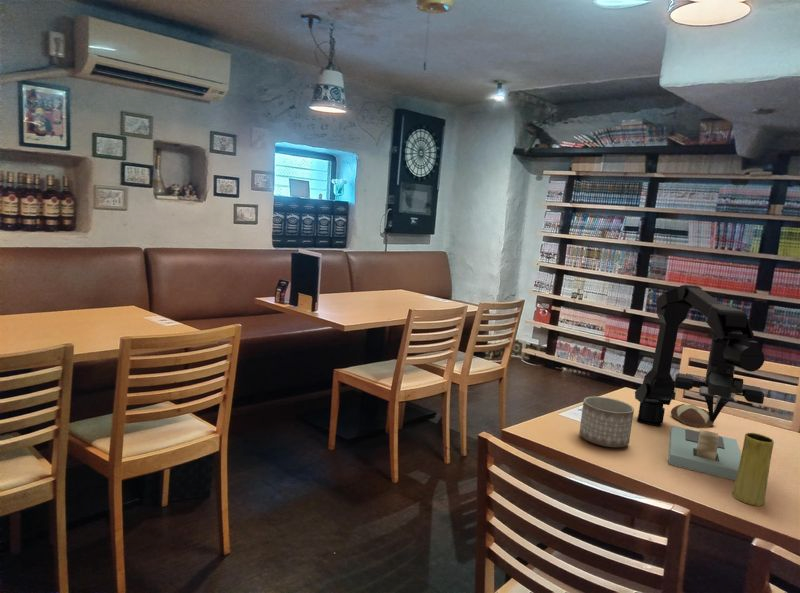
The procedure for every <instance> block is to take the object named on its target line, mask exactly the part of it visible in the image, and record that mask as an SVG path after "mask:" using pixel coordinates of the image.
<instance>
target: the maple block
mask: <svg viewBox="0 0 800 593" xmlns="http://www.w3.org/2000/svg"><path fill="white" fill-rule="evenodd" d="M699 431H700V433H699V439H698V445H697V451H696V456H698V457H702V458H706V459H710V460H714V461H715V459H716V454H717V448H718V442H719V436H720V435H719V433H717V432H714V431H709V430H703V429H699Z"/></svg>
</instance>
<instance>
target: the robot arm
mask: <svg viewBox="0 0 800 593" xmlns="http://www.w3.org/2000/svg"><path fill="white" fill-rule="evenodd" d="M655 303H656V311H655V312H656V315H657V318H658V320H659V322H660V325H659V330H658V334H657V341H656V345H655V351H654V356H653V360H652V361H653V362H652V366H651V369H650V370H649V371H648V373H646V374H645V376H643V377H644V378H643V382H642V384H640V386H639V387H638V388H637V389H636V390H635V391H634V399H635V400H636V401H638V402H639V408H638V414H637V418H636V421H637V422H638V423H644V424H647V425H652V426H656V427H661V425H662V424H663V423H664V417H665V410H666V409H665V407H664V405H667V406H670V404H671V402H672V400H673V397H674V395H675V389H679V390H684V391H685V390H686V391H690V390H692V389H693V388H697V389H698V391H699V392H698V393H699V396H701V397H703V398H704V399H705V403H706V404H707V405H706V406H707V411H708V412H709V417H710V421H712V422H714V423H715V421H716V419H717V418H718V416H719V414H720V413H721V411H722V410H723V408H724V407H725V406H726V405H727V404H728V403H730V402H732V403H734V402H735V397H736V396H740V397H743V398H744V399H745V400H746V401H747V402H748V403H749V402H750V403H755V404H758V405H763V404H764V400H765V393H764V391H763V390H762V389H761V387H759V386H753V385H748V384H744V379H743V378H740V377H735V376H734V375H735V370H736V369H735V368H738V369H742V370H744V371H747V372H750V373H751V372H756V371H758V370H760V369H761V368H762V367H763V365H764V363H765V359H766V358H765V356H764V352H763V351H762V349H760V348H759V342H758V341H755V334H754V332H753V329H752V327H751V324H750V320H749V317H748V315H747V313H746V311H744V310H741V309H738V308H736V307H733V306H728V305H725V304H723V303H722V302H720V301H719V300H717V299H716V298H714V297H713V296H711V295H710V294H708V293H707V292H706V291H705V290H704V289H702V287H701V286H699V285H694V284H682V285H679V286H678V287H677V288H674V289H670V290H668V291H665V292H663V293H662V294H660V295H658V297H657V298H656V302H655ZM693 308H694V309H695V310H697V311H698V312H699V313H700V314H702V315H703V316H704V317H706V324H707V326H708V327H709V328H710V329H711V330H712V332H710V333H708V334H707V338H709V339H711V343H710V347H709V355H708V360H707V367H706V368H707V369H706V373H705V379H704V380H699V379H695V378H694V375H692V374H686V373H681V372H679V373H677V374H675V379H673V377H672V375H671V369H672V366H673V360H674V353H675V349H676V344H677V337H678V333H679V328H680V325H681V324H682V323H683V322H684V321H685V320H686V319H687V318H688V317H689V316H688V315H689V311H690V310H691V309H693ZM714 396H717V398H716V401H715V404H714Z"/></svg>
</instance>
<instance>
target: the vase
mask: <svg viewBox="0 0 800 593" xmlns="http://www.w3.org/2000/svg"><path fill="white" fill-rule="evenodd" d="M773 449H774V440H773V438H771V437H769V436H766V435H764V434H761V433H755V432H746V433H745V434H744V440H743V445H742V450H741V460H740V464H739V469H738V473H737V476H736V481H735V480H734V481H735V482H734V486H733V490H732V492H731V493H732V496H733V497H734V498H735V499H736V500H738V501H740V502H742V503H744V504H747V505H751V506H757V507H759V506H763V505H766V504H765V503H766V494H767V488H768V481H769V480H768V479H769V474H770V473H769V472H770V468H771V467H770V465H771V459H772V456H773V455H772V454H773Z"/></svg>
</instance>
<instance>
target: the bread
mask: <svg viewBox="0 0 800 593" xmlns="http://www.w3.org/2000/svg"><path fill="white" fill-rule="evenodd" d="M670 415H671V417H672V418H673V419H674V420H677V421H679V422H680V423H682V424H684V425H686V426H687V427H688V426H689V427H693V428H707V427H708V428H709V427H712V426H713V425H714V423H715V421H714V422H712V421H710V417H709V411H708V410H706V409H704V408H700V407H698V406H696V405H694V404H685V403H682V404H678V405H676V406H674V407H672V408H671V409H670Z"/></svg>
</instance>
